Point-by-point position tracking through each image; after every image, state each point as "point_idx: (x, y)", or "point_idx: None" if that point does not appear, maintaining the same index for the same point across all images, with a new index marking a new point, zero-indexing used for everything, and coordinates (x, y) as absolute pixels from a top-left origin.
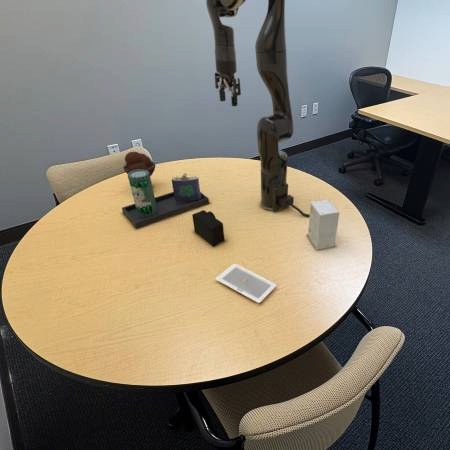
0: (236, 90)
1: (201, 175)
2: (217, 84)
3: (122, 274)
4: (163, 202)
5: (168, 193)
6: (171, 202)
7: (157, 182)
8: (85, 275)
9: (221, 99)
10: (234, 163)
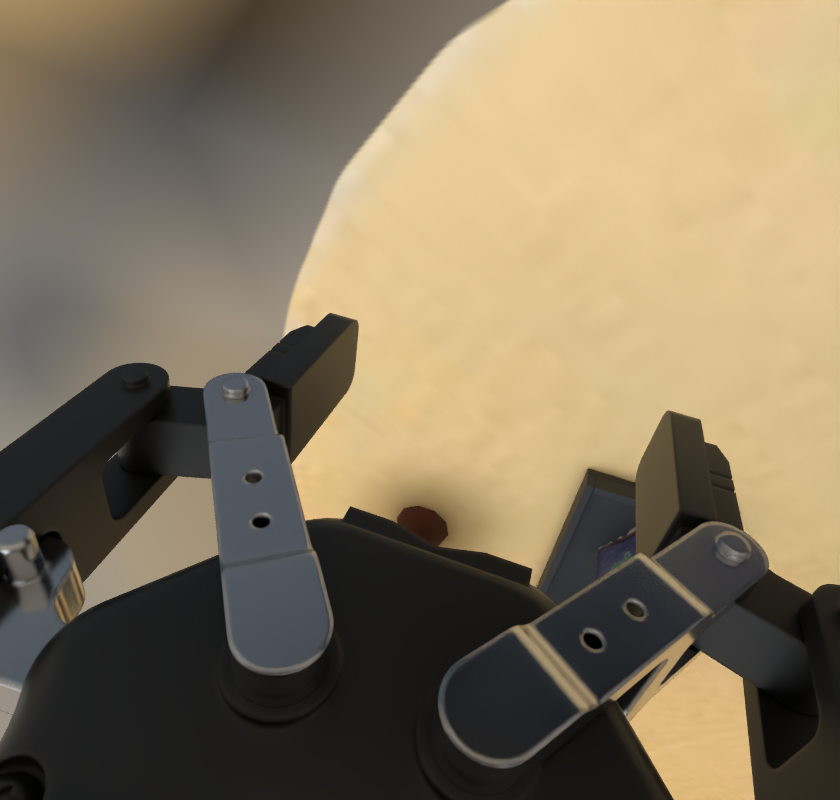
0: (721, 608)
1: (500, 348)
2: (141, 500)
3: (747, 783)
4: (571, 577)
5: (555, 560)
6: (595, 568)
7: (416, 481)
8: (671, 790)
9: (343, 388)
10: (533, 96)
